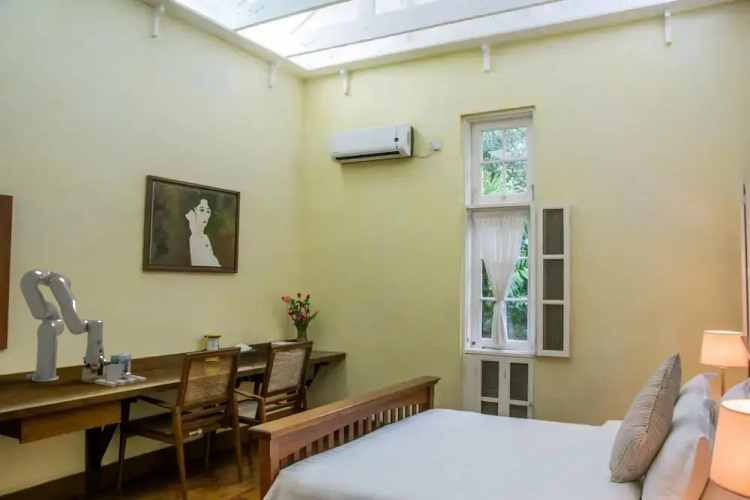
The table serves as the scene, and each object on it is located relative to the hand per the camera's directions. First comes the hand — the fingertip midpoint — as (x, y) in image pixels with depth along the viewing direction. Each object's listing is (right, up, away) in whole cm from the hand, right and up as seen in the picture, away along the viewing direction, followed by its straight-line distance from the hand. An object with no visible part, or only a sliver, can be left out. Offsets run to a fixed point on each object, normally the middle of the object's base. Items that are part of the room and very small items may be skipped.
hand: (93, 374), depth 323 cm
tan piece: (0, -3, +2) cm, 4 cm away
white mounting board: (+14, -4, +1) cm, 15 cm away
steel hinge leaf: (+13, -3, -1) cm, 14 cm away
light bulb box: (+4, -5, +24) cm, 25 cm away
